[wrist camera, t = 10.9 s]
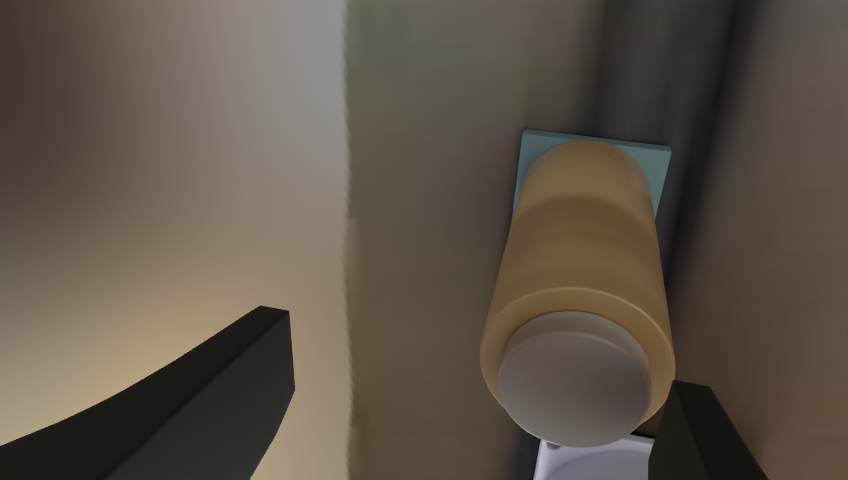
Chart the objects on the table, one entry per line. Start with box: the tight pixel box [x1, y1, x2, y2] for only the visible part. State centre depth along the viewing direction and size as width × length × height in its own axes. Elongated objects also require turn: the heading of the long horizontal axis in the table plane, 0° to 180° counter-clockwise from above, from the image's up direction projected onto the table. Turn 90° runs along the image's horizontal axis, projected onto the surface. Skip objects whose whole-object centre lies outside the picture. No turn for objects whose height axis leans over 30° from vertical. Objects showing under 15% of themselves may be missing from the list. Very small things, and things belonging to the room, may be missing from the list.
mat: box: [511, 129, 671, 223], centre depth 22 cm, size 9×4×1 cm, turn 177°
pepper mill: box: [480, 140, 676, 448], centre depth 17 cm, size 4×4×9 cm
